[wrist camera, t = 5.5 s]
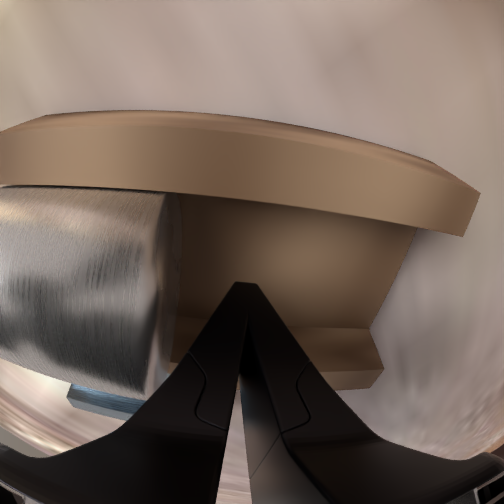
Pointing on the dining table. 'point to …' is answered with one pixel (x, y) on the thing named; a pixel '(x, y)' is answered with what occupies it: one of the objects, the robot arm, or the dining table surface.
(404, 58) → the dining table surface
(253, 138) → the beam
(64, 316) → the silver metal tumbler
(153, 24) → the dining table surface
